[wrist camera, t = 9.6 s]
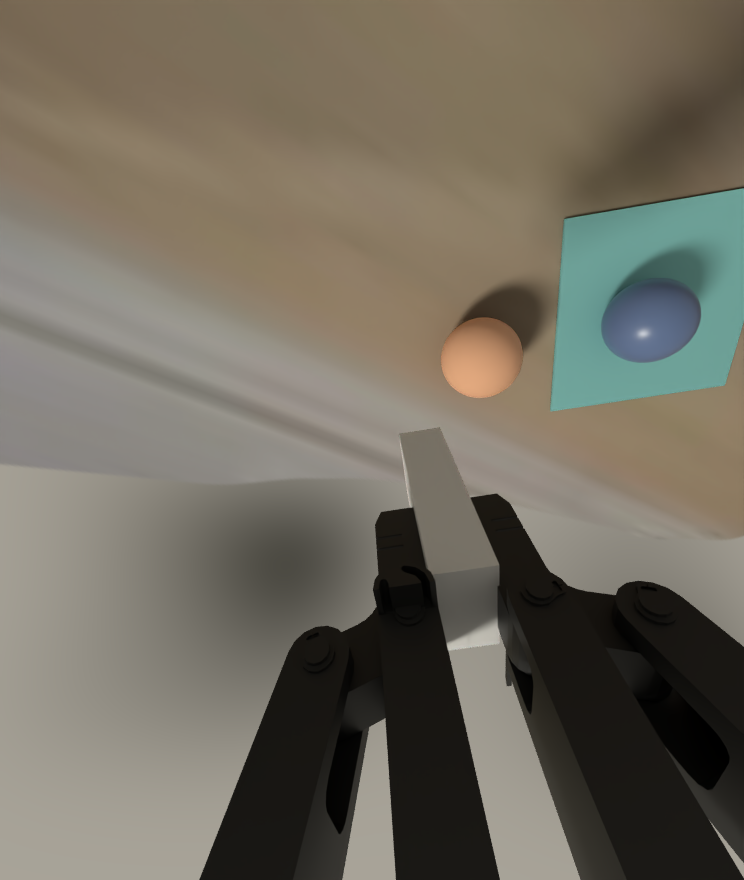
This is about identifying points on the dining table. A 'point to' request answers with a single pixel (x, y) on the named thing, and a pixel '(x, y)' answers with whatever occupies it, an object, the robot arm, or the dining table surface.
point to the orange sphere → (482, 357)
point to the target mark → (639, 258)
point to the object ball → (651, 320)
